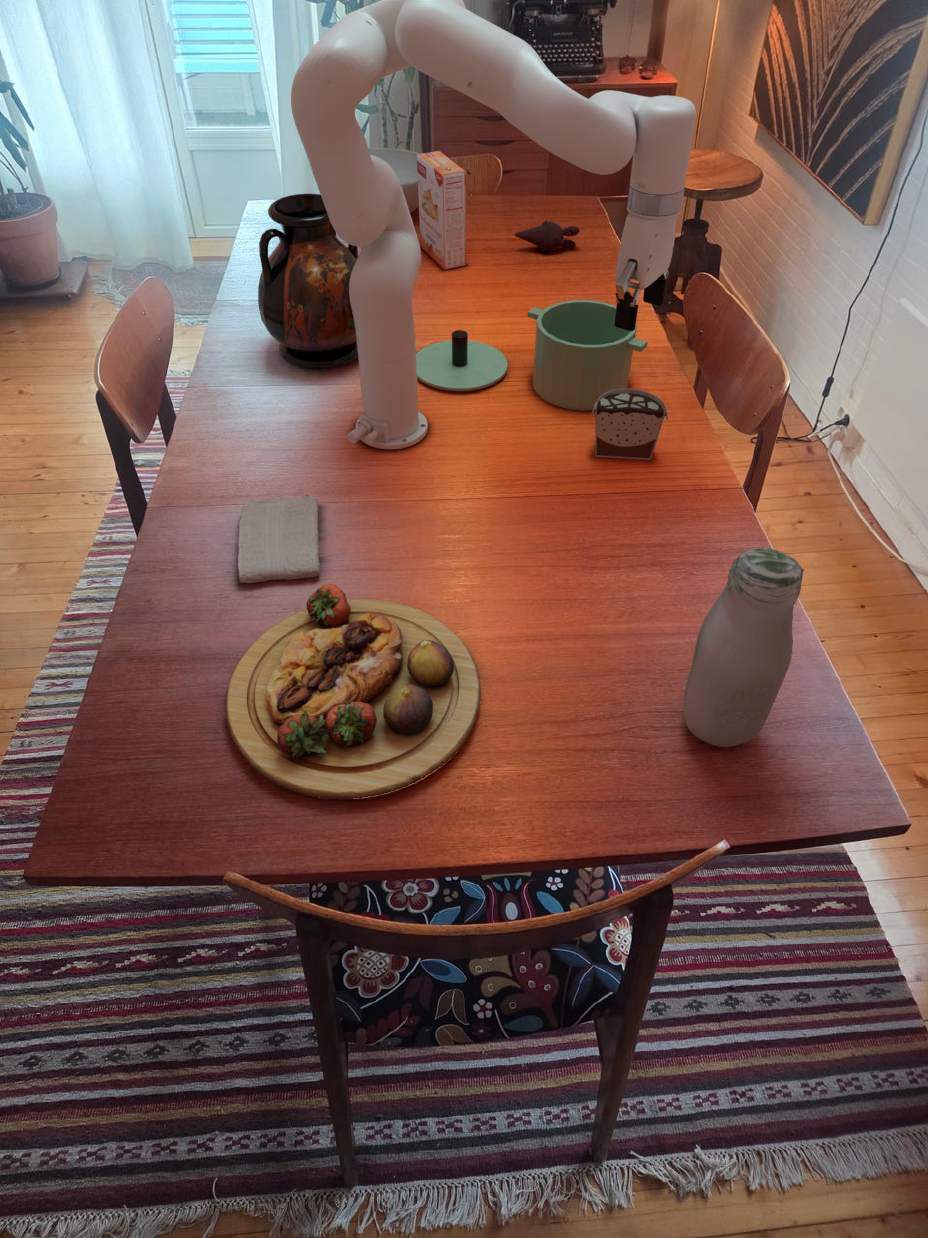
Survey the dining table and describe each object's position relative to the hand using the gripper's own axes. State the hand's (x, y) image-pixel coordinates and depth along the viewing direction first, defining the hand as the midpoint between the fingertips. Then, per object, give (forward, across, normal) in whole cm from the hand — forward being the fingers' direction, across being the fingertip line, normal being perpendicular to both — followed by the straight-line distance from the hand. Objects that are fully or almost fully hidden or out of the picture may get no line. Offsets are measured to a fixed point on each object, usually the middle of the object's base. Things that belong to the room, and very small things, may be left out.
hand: (638, 315), depth 135 cm
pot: (+24, -14, -15) cm, 31 cm away
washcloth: (+23, +52, -31) cm, 65 cm away
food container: (+24, 0, +1) cm, 24 cm away
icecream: (+24, -63, -51) cm, 84 cm away
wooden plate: (+23, +69, -3) cm, 73 cm away
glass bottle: (+24, +49, +37) cm, 66 cm away
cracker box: (+23, -46, -69) cm, 86 cm away
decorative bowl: (+23, -57, -95) cm, 113 cm away
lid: (+23, -6, -37) cm, 44 cm away
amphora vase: (+23, +4, -63) cm, 68 cm away
